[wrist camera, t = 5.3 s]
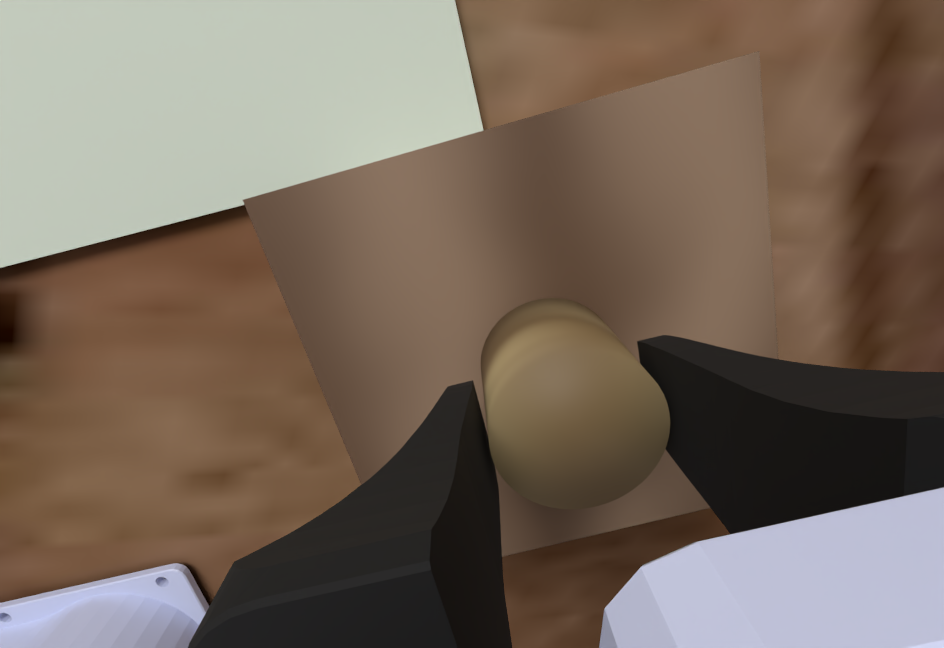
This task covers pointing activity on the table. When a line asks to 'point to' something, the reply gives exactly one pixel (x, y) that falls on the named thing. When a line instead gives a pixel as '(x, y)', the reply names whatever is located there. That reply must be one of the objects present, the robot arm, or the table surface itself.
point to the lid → (539, 289)
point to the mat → (208, 105)
